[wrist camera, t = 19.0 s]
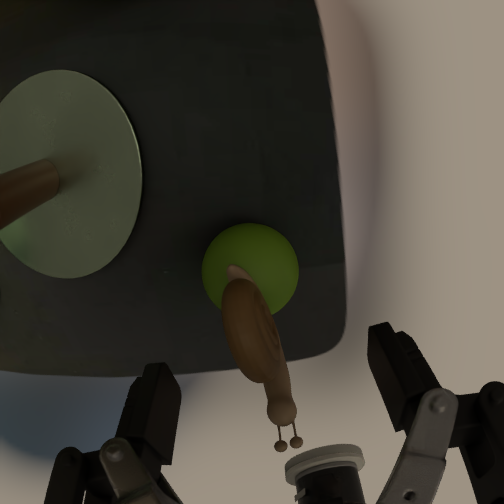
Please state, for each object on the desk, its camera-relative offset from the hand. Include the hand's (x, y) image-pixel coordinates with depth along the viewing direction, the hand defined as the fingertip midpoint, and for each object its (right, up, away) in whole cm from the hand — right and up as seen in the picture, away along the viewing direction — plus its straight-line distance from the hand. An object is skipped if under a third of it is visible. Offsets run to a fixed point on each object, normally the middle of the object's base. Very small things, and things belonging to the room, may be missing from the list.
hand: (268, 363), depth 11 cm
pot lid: (-14, +9, +5) cm, 18 cm away
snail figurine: (-1, +4, +9) cm, 10 cm away
